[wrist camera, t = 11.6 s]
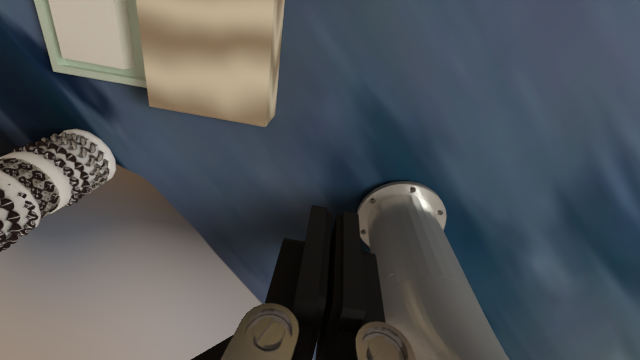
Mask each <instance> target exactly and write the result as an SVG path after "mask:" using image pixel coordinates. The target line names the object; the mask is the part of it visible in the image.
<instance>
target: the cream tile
mask: <svg viewBox="0 0 640 360" xmlns="http://www.w3.org/2000/svg"><path fill="white" fill-rule="evenodd" d="M48 1H49V5H50V10H51V14H52V18H53V22H54V26H55V30H56V34H57V38H58V42H59V46H60V50H61V54H62V58H66V59H71V60H76V61H82V62H87V63H92V64H98V65H103V66H109V67H114V68H119V69H129V68H134V67H135V61H134V54H133V46H132V39H131V31H130V24H129V16H128V9H127V2H126V0H48Z"/></svg>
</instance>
